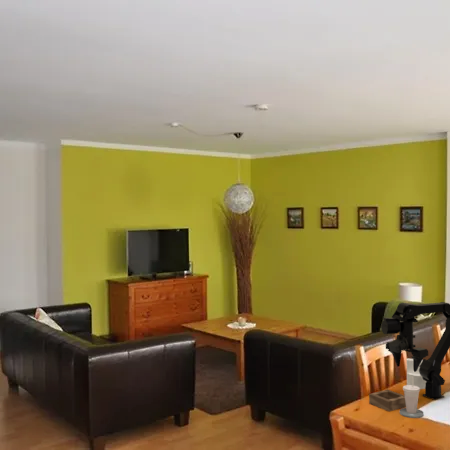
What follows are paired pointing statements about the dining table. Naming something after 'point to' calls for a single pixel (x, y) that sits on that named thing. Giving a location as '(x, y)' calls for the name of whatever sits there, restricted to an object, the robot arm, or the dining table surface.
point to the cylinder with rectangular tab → (414, 375)
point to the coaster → (411, 415)
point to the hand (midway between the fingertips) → (406, 368)
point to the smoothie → (411, 397)
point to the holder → (387, 400)
